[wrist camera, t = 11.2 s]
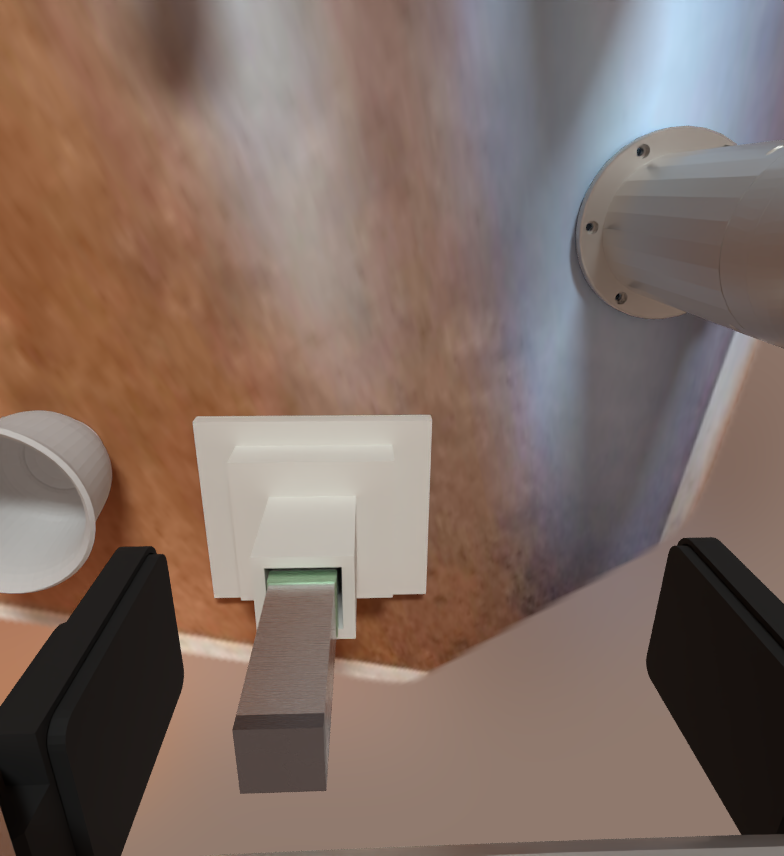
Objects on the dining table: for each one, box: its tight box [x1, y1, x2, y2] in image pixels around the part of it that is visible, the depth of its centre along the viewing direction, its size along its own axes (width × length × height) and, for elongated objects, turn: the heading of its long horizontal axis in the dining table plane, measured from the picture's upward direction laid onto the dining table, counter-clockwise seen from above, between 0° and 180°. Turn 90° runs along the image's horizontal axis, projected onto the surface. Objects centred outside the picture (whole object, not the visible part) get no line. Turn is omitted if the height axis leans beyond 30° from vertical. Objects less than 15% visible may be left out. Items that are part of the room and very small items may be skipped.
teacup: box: [0, 411, 112, 594], centre depth 42 cm, size 12×15×10 cm
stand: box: [193, 415, 432, 639], centre depth 43 cm, size 18×16×13 cm
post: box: [233, 567, 340, 794], centre depth 35 cm, size 4×4×17 cm
